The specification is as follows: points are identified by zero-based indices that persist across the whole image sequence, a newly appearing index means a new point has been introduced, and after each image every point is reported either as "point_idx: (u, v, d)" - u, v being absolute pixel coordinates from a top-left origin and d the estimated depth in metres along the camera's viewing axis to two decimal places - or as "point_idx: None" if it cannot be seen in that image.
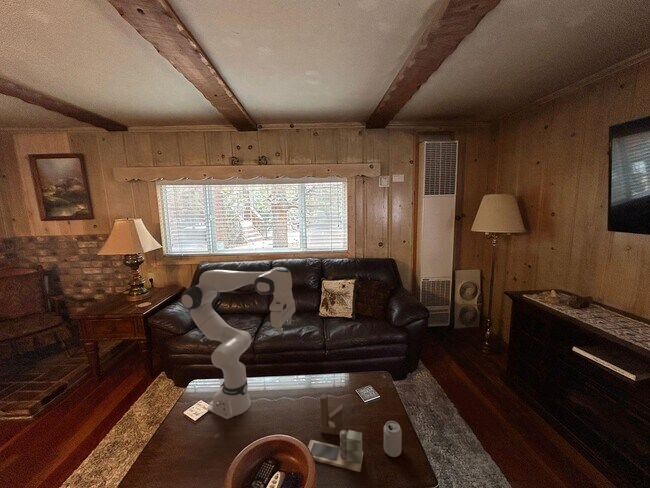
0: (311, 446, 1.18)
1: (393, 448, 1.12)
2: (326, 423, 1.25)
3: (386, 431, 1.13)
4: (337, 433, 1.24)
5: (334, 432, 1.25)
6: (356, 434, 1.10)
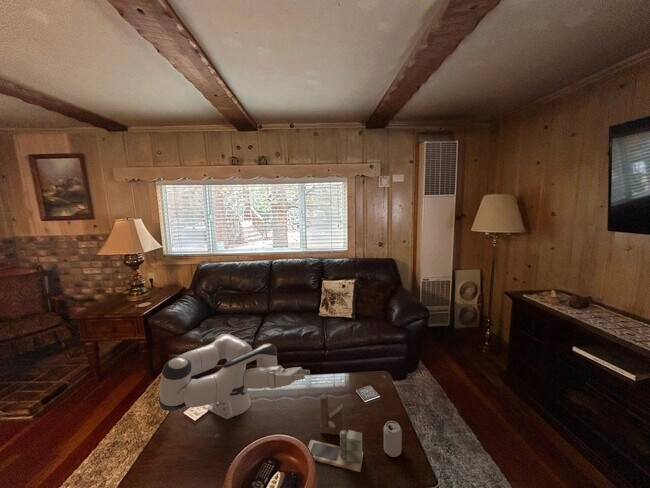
0: (311, 446, 1.18)
1: (393, 448, 1.12)
2: (326, 423, 1.25)
3: (386, 431, 1.13)
4: (337, 433, 1.24)
5: (334, 432, 1.25)
6: (356, 434, 1.10)
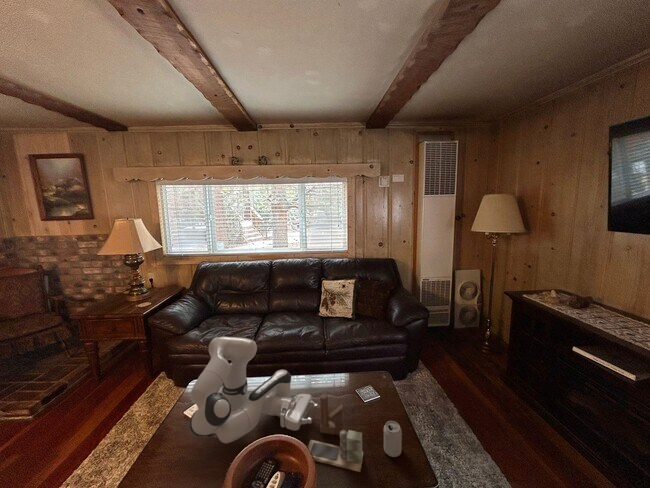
0: (311, 446, 1.18)
1: (393, 448, 1.12)
2: (326, 423, 1.25)
3: (386, 431, 1.13)
4: (337, 433, 1.24)
5: (334, 432, 1.25)
6: (356, 434, 1.10)
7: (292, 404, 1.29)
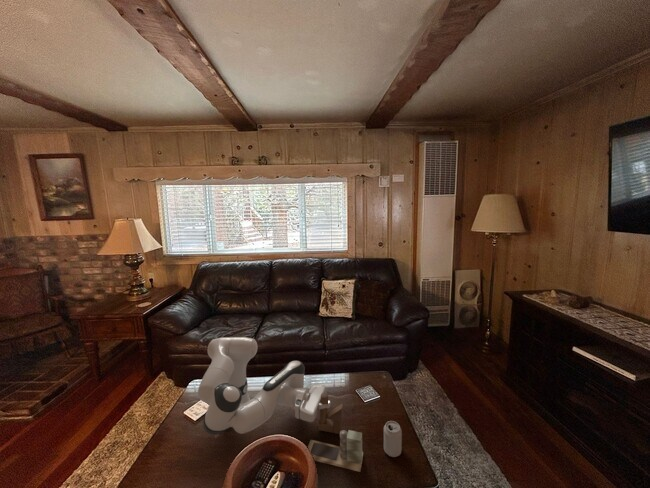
0: (311, 446, 1.18)
1: (393, 448, 1.12)
2: (324, 421, 1.25)
3: (386, 431, 1.13)
4: (335, 431, 1.25)
5: (332, 430, 1.25)
6: (356, 434, 1.10)
7: (306, 395, 1.26)
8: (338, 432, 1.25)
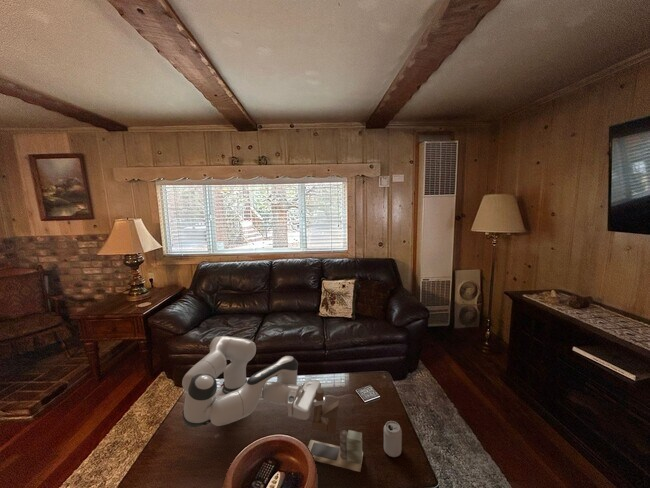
0: (311, 446, 1.18)
1: (393, 448, 1.12)
2: (318, 419, 1.17)
3: (386, 431, 1.13)
4: (329, 431, 1.17)
5: (326, 429, 1.17)
6: (356, 434, 1.10)
7: (300, 392, 1.18)
8: (333, 431, 1.16)
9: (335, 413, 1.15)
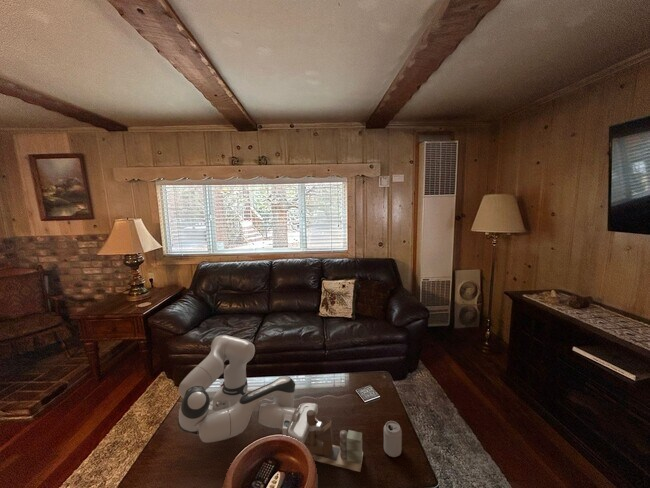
0: None
1: (393, 448, 1.12)
2: (313, 442, 1.14)
3: (386, 431, 1.13)
4: (325, 453, 1.13)
5: (322, 452, 1.13)
6: (356, 434, 1.10)
7: (296, 415, 1.15)
8: (329, 454, 1.12)
9: (328, 435, 1.11)
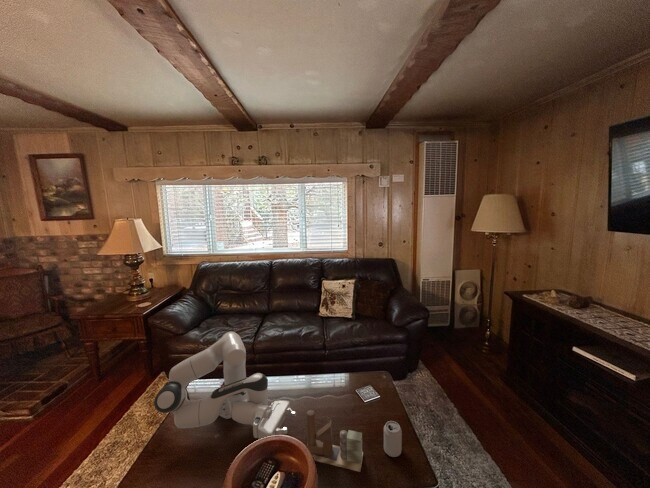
0: None
1: (393, 448, 1.12)
2: (313, 442, 1.14)
3: (386, 431, 1.13)
4: (325, 453, 1.13)
5: (322, 452, 1.13)
6: (356, 434, 1.10)
7: (267, 412, 1.20)
8: (329, 454, 1.12)
9: (328, 435, 1.11)
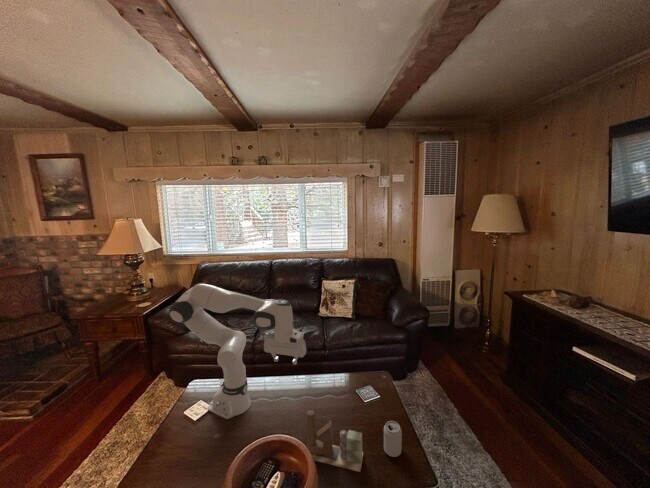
0: None
1: (393, 448, 1.12)
2: (313, 442, 1.14)
3: (386, 431, 1.13)
4: (325, 453, 1.13)
5: (322, 452, 1.13)
6: (356, 434, 1.10)
7: None
8: (329, 454, 1.12)
9: (328, 435, 1.11)
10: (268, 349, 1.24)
